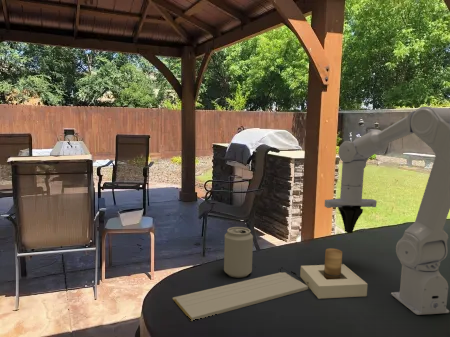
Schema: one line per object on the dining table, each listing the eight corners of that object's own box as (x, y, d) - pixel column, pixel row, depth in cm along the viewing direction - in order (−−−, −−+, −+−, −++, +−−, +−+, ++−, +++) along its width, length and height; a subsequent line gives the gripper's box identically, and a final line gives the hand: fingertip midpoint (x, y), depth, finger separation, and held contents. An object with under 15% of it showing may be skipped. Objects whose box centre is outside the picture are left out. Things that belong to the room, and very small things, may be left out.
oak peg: (343, 289, 89) (346, 253, 88) (327, 290, 88) (329, 254, 87) (335, 281, 93) (337, 247, 92) (320, 282, 92) (322, 248, 91)
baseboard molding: (170, 298, 84) (191, 325, 73) (170, 286, 83) (191, 311, 73) (277, 273, 99) (308, 292, 88) (278, 263, 98) (308, 280, 88)
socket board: (366, 296, 86) (367, 284, 85) (318, 298, 84) (319, 286, 84) (342, 274, 97) (343, 264, 97) (300, 276, 96) (300, 265, 95)
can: (254, 278, 94) (256, 233, 93) (226, 279, 93) (227, 234, 91) (248, 266, 101) (249, 225, 100) (221, 267, 100) (222, 225, 99)
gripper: (368, 182, 106) (364, 227, 108) (321, 182, 104) (318, 228, 106) (382, 186, 99) (378, 234, 101) (332, 186, 97) (328, 236, 99)
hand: (348, 232), depth 103 cm, fingers closed
